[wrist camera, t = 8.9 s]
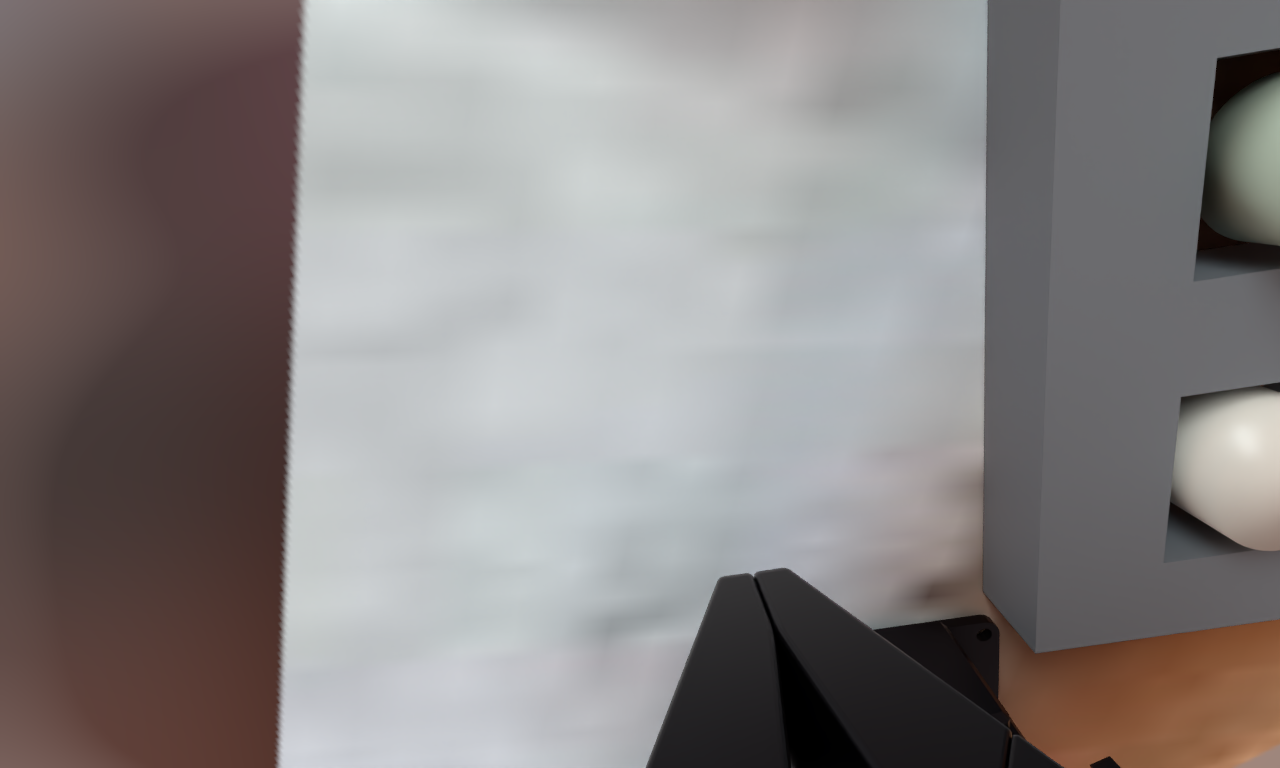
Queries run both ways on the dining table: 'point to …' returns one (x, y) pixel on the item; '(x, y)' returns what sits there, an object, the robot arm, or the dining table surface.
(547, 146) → the dining table surface
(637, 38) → the dining table surface
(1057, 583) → the button panel
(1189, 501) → the cream button
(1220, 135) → the sage button
